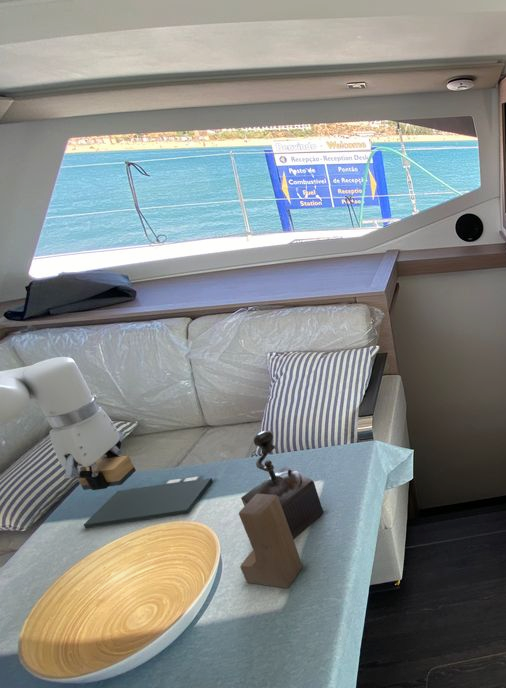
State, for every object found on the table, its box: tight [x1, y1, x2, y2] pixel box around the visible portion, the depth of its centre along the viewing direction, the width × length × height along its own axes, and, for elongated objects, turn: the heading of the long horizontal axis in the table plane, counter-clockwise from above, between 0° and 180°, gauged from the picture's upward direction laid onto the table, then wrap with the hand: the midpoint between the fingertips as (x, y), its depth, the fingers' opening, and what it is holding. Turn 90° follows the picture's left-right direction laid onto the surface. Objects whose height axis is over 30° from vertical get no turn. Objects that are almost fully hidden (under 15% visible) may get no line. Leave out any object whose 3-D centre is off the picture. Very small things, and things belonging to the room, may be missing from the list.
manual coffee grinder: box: [240, 430, 325, 540], centre depth 88 cm, size 16×11×18 cm
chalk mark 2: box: [182, 476, 200, 482], centre depth 104 cm, size 3×1×1 cm, turn 97°
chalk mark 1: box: [165, 478, 183, 484], centre depth 104 cm, size 3×1×1 cm, turn 97°
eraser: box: [76, 455, 137, 491], centre depth 94 cm, size 8×4×4 cm, turn 97°
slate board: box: [83, 477, 214, 529], centre depth 98 cm, size 22×10×1 cm, turn 97°
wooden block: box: [238, 494, 303, 589], centre depth 75 cm, size 9×4×18 cm, turn 80°
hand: (109, 479), depth 95 cm, fingers closed on eraser, 4 cm apart
